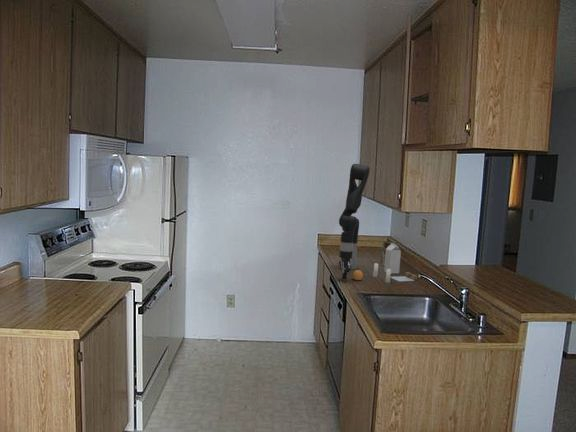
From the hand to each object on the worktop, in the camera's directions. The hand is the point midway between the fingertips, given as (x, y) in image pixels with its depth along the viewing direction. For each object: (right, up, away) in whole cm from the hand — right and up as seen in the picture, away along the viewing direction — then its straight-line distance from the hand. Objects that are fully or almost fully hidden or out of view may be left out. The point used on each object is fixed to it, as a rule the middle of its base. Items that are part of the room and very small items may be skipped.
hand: (344, 278), depth 283 cm
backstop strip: (+43, -2, +14) cm, 45 cm away
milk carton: (+34, 0, +29) cm, 45 cm away
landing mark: (+37, -2, +12) cm, 39 cm away
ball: (+8, +2, +2) cm, 9 cm away
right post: (+26, -2, +1) cm, 26 cm away
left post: (+21, -1, +15) cm, 26 cm away
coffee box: (+36, +2, +51) cm, 62 cm away
